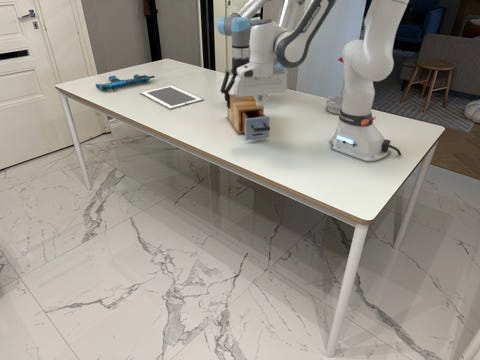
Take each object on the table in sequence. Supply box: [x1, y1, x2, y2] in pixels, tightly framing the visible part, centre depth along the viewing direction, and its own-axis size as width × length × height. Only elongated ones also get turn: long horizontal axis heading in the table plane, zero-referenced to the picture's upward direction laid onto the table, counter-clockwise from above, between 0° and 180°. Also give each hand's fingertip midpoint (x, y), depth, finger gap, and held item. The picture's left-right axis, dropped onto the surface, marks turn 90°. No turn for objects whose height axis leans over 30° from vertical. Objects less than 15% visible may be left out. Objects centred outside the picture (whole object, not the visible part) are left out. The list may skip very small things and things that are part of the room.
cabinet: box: [226, 93, 265, 135], centre depth 153 cm, size 20×11×11 cm, turn 16°
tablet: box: [140, 85, 204, 110], centre depth 187 cm, size 32×20×1 cm, turn 41°
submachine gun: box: [94, 74, 155, 92], centre depth 207 cm, size 34×4×25 cm
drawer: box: [241, 110, 271, 141], centre depth 143 cm, size 24×10×9 cm, turn 16°
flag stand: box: [325, 56, 344, 115], centre depth 162 cm, size 13×13×30 cm
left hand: (240, 106), depth 158 cm, fingers closed on cabinet, 11 cm apart
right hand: (260, 105), depth 130 cm, fingers closed
